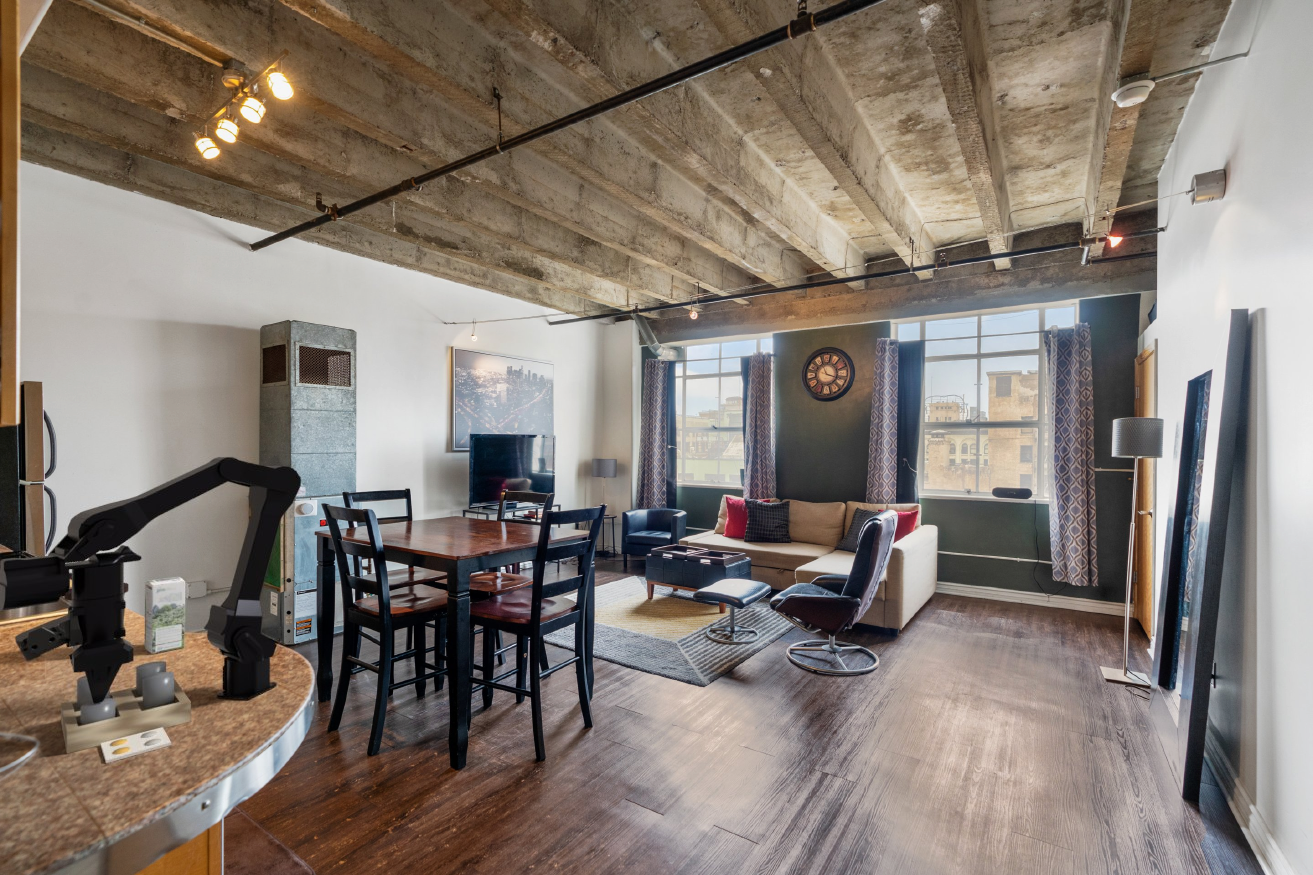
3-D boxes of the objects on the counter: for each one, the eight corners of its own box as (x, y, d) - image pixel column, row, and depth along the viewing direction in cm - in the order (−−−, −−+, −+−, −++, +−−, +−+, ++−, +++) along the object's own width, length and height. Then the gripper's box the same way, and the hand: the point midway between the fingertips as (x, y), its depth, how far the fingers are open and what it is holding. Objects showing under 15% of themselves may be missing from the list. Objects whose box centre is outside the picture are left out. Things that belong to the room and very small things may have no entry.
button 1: (108, 696, 100) (108, 670, 100) (111, 703, 97) (111, 676, 97) (76, 703, 97) (76, 677, 97) (77, 710, 94) (77, 683, 94)
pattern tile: (162, 729, 94) (162, 725, 94) (171, 745, 89) (171, 741, 89) (100, 745, 89) (100, 742, 89) (105, 763, 84) (105, 759, 84)
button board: (174, 696, 107) (174, 678, 107) (190, 721, 97) (190, 701, 97) (61, 722, 97) (61, 703, 97) (66, 753, 87) (66, 731, 87)
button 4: (171, 695, 100) (171, 669, 100) (176, 702, 97) (176, 675, 97) (140, 702, 97) (141, 676, 97) (144, 710, 94) (144, 682, 94)
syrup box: (177, 642, 136) (177, 575, 136) (185, 647, 132) (185, 579, 133) (144, 649, 132) (144, 580, 132) (151, 655, 128) (151, 583, 128)
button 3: (164, 684, 105) (164, 659, 105) (168, 690, 102) (168, 664, 102) (134, 690, 102) (134, 665, 102) (137, 697, 99) (138, 671, 99)
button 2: (113, 723, 95) (113, 696, 95) (116, 731, 92) (116, 703, 92) (79, 731, 92) (79, 703, 92) (81, 740, 89) (81, 711, 89)
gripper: (19, 594, 93) (19, 700, 93) (21, 618, 80) (20, 741, 80) (118, 582, 101) (118, 679, 101) (134, 602, 88) (134, 714, 88)
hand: (98, 702), depth 92 cm, fingers closed
